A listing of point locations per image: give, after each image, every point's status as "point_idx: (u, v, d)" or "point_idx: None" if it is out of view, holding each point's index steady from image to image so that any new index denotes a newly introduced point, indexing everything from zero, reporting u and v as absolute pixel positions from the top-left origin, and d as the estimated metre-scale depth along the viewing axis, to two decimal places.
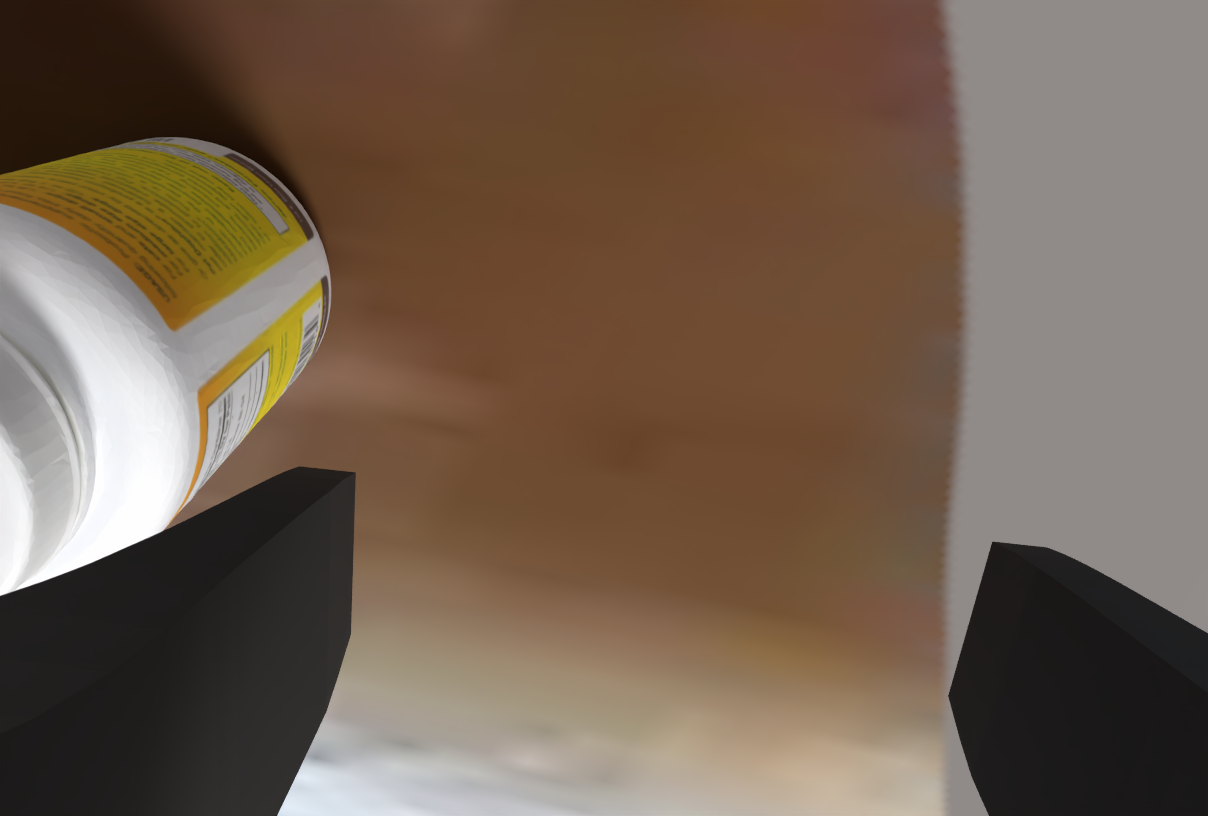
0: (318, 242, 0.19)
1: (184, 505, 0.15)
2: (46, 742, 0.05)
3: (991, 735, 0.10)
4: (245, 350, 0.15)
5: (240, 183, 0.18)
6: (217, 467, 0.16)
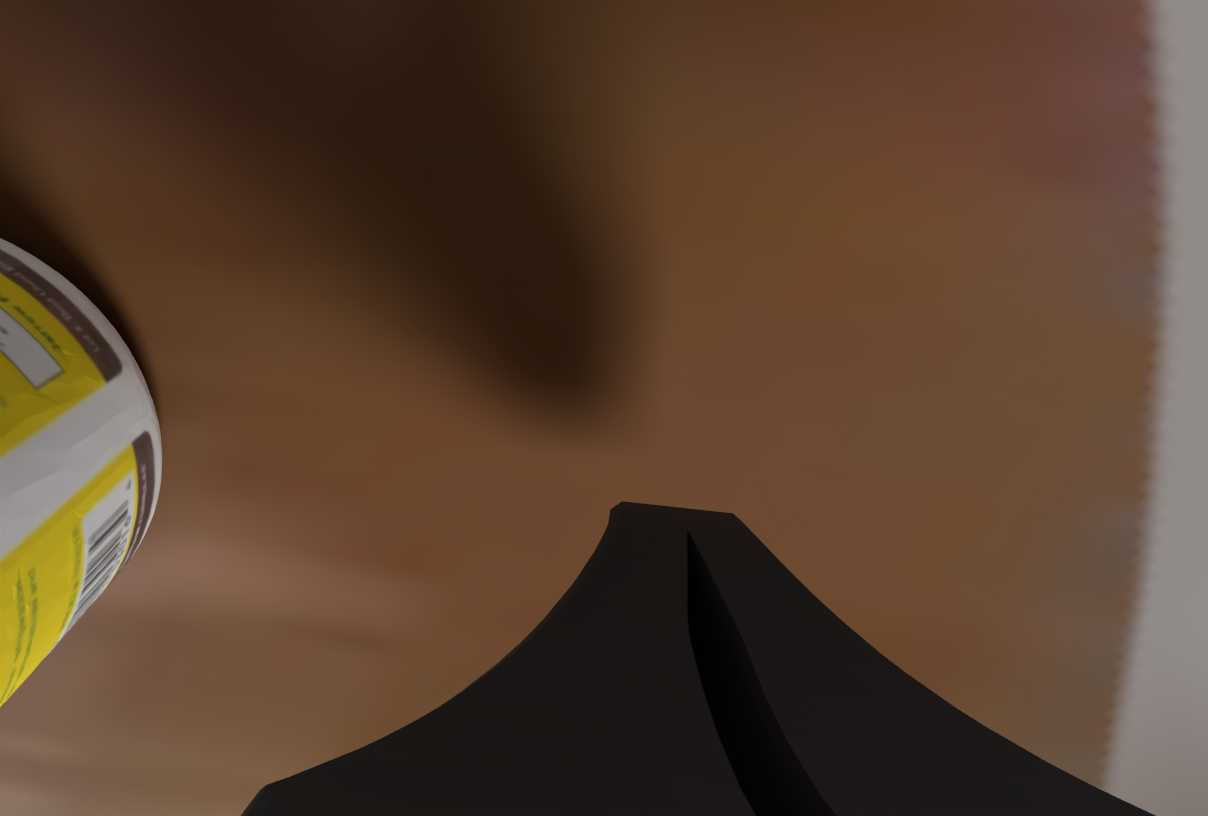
0: (131, 379, 0.12)
1: None
2: None
3: None
4: None
5: None
6: None
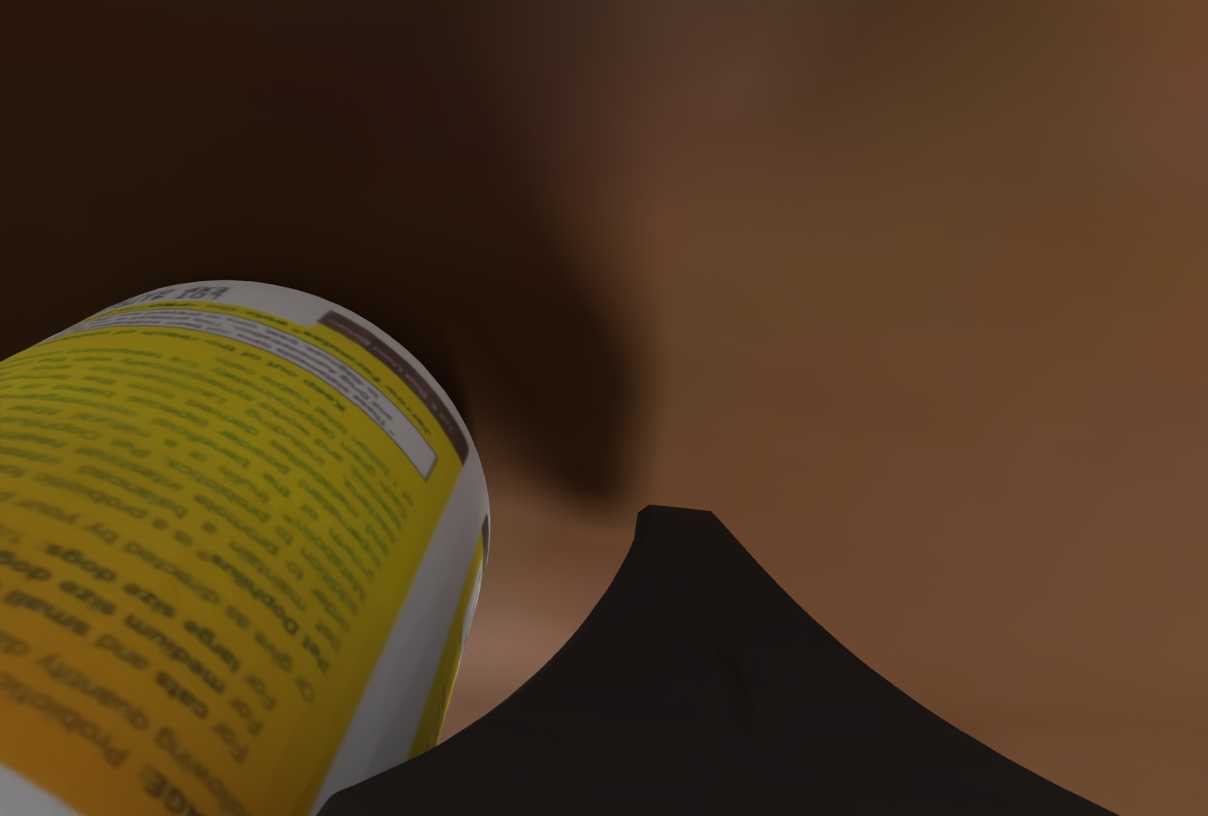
0: (474, 459, 0.11)
1: None
2: None
3: None
4: None
5: (352, 383, 0.09)
6: None
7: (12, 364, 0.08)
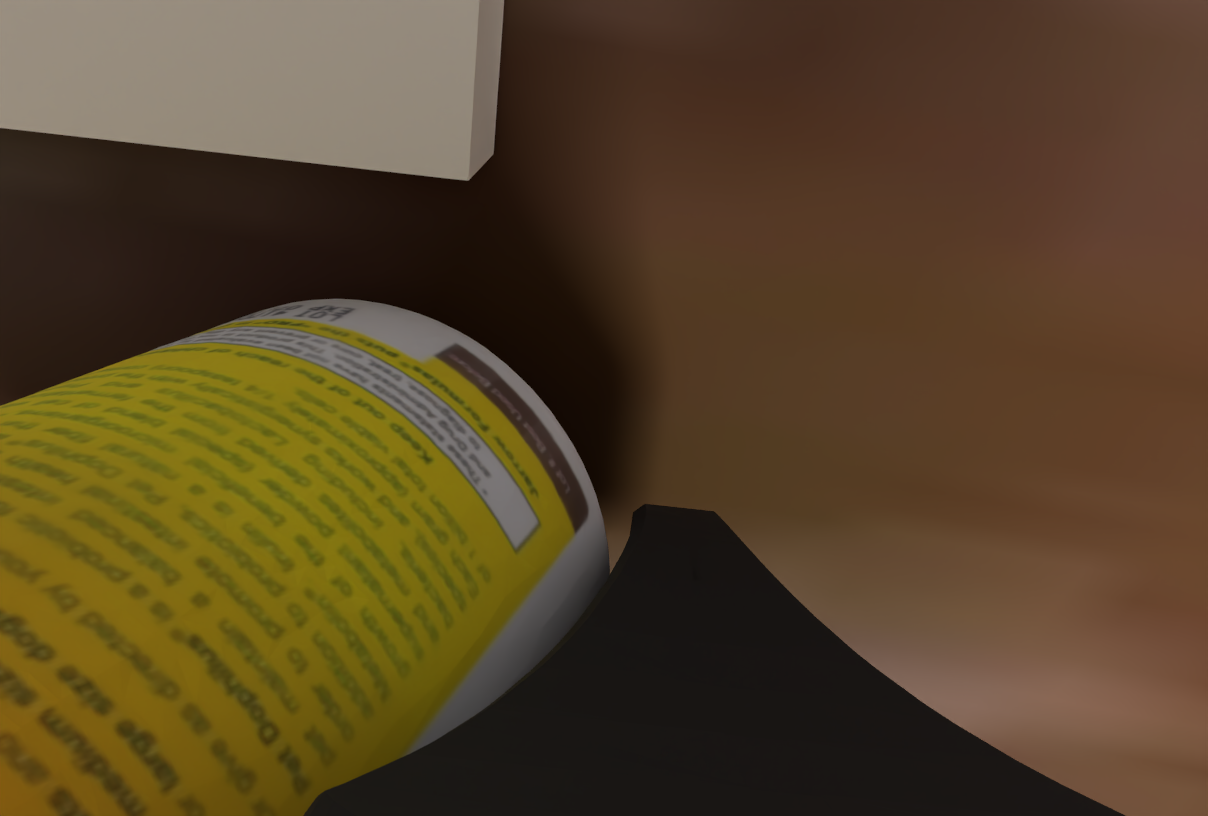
0: (594, 525, 0.10)
1: None
2: None
3: None
4: None
5: (452, 431, 0.08)
6: None
7: (96, 375, 0.08)
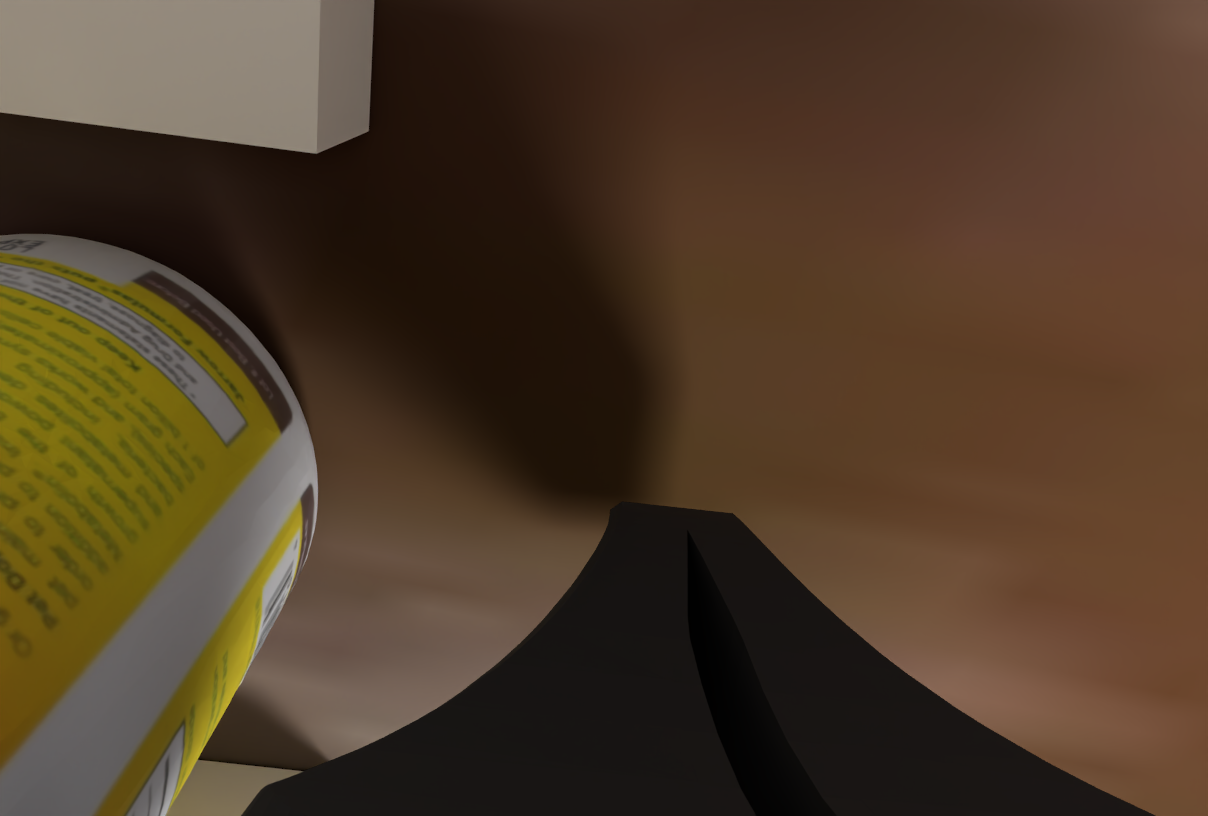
0: (299, 427, 0.11)
1: None
2: None
3: None
4: (120, 782, 0.07)
5: (156, 344, 0.09)
6: None
7: None
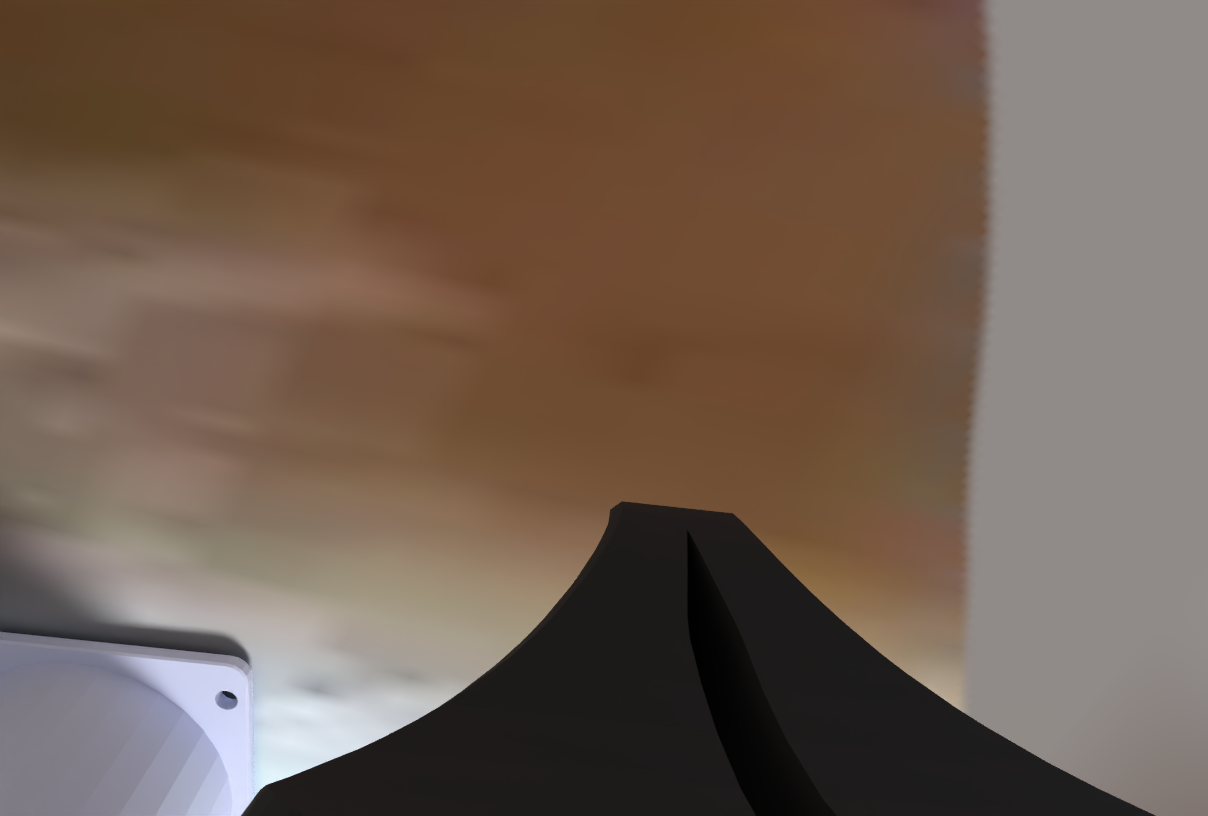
0: None
1: None
2: None
3: None
4: None
5: None
6: None
7: None
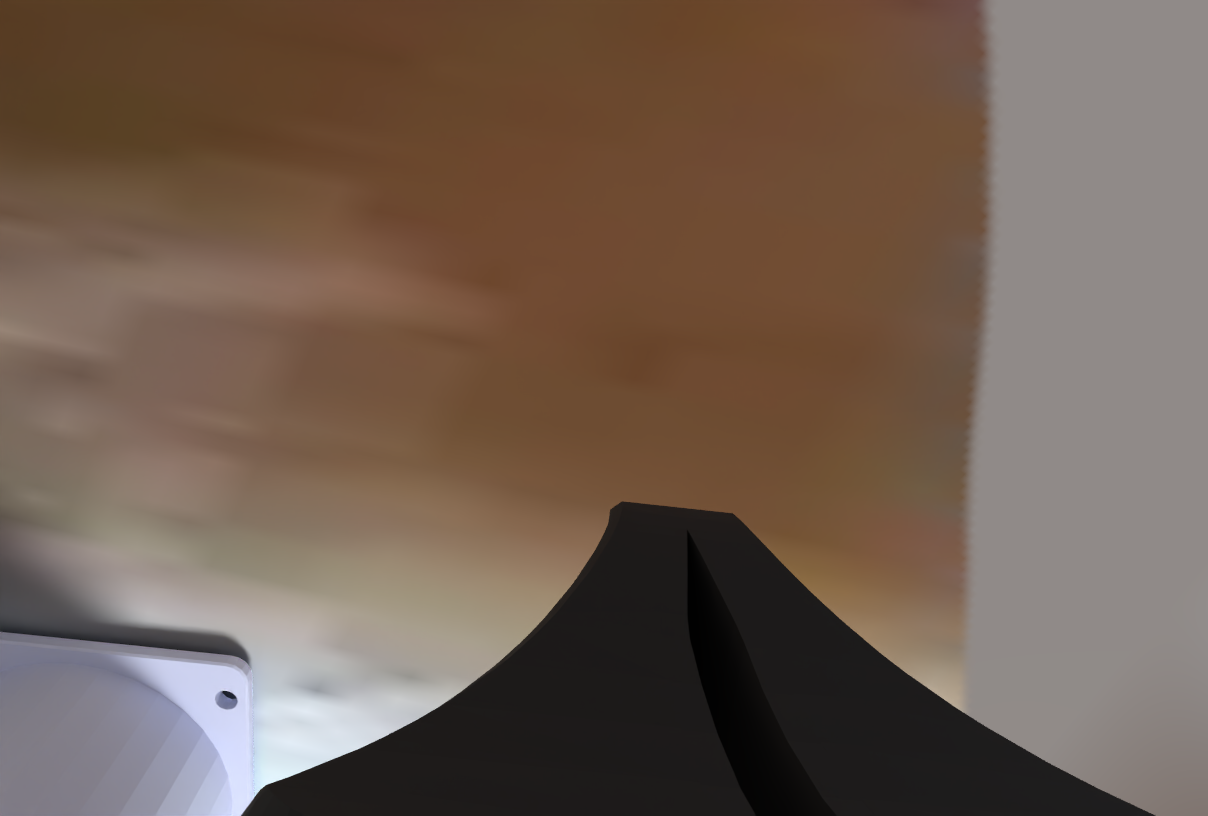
0: None
1: None
2: None
3: None
4: None
5: None
6: None
7: None
